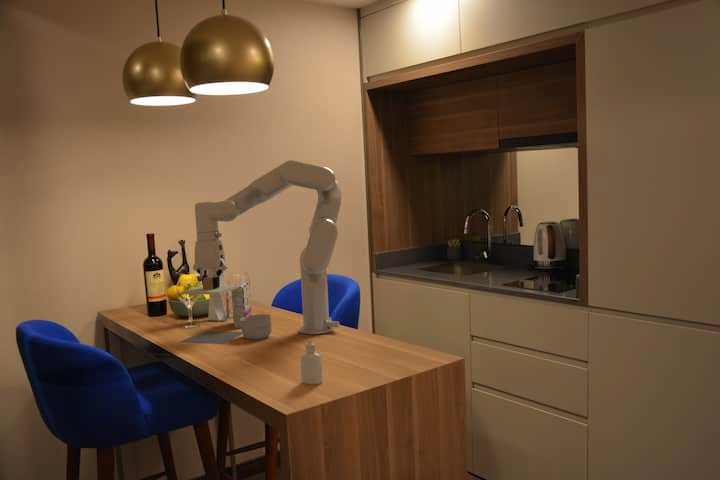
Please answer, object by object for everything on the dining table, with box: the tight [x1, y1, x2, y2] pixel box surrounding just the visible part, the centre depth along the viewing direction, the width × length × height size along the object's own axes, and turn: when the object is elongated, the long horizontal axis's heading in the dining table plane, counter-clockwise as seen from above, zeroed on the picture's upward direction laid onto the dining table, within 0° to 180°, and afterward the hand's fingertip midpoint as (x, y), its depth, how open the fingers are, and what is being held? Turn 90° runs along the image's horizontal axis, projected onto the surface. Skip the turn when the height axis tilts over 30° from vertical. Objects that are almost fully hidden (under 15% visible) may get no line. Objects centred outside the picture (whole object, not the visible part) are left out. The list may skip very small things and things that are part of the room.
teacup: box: [240, 313, 273, 341], centre depth 227 cm, size 14×11×8 cm
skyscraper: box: [207, 267, 233, 322], centre depth 259 cm, size 8×8×28 cm
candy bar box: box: [231, 281, 252, 329], centre depth 246 cm, size 11×5×16 cm, turn 179°
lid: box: [180, 276, 240, 296], centre depth 227 cm, size 15×15×5 cm
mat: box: [180, 330, 243, 345], centre depth 228 cm, size 17×17×1 cm
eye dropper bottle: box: [300, 339, 323, 385], centre depth 174 cm, size 4×6×12 cm
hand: (211, 287), depth 227 cm, fingers closed on lid, 3 cm apart
